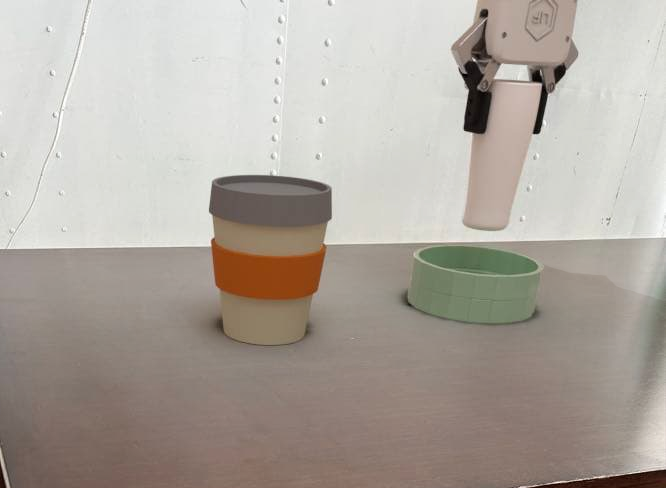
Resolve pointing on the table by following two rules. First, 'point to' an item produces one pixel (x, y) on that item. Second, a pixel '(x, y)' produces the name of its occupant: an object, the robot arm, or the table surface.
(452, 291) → the green plastic ring
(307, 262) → the reusable coffee cup
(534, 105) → the drinking glass
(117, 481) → the table surface
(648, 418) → the table surface
